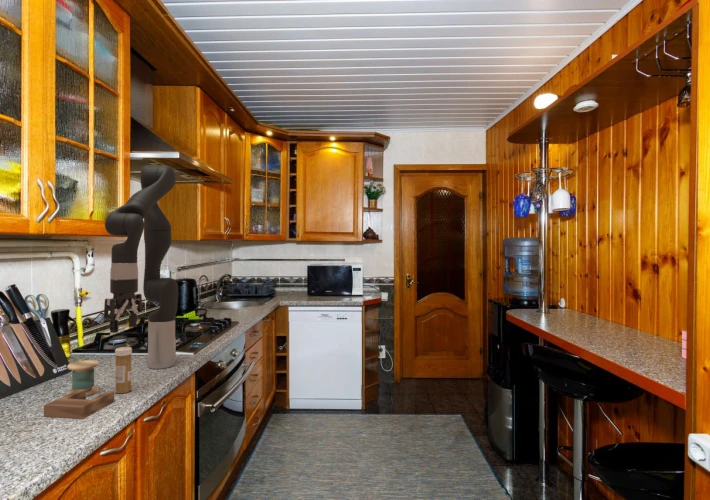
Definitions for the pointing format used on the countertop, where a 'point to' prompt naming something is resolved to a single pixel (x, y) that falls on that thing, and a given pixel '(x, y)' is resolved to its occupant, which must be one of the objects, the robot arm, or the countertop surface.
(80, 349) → the countertop surface
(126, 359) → the sprinkles bottle
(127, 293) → the robot arm
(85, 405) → the c-shaped block
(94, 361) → the bobbin
